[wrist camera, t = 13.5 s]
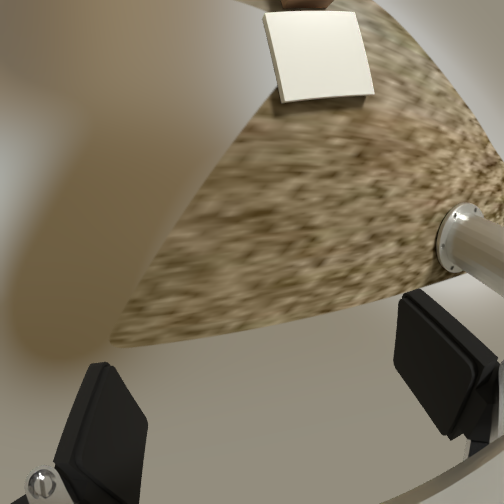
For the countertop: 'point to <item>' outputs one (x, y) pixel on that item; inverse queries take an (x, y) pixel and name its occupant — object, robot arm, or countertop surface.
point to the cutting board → (317, 55)
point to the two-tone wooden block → (305, 3)
